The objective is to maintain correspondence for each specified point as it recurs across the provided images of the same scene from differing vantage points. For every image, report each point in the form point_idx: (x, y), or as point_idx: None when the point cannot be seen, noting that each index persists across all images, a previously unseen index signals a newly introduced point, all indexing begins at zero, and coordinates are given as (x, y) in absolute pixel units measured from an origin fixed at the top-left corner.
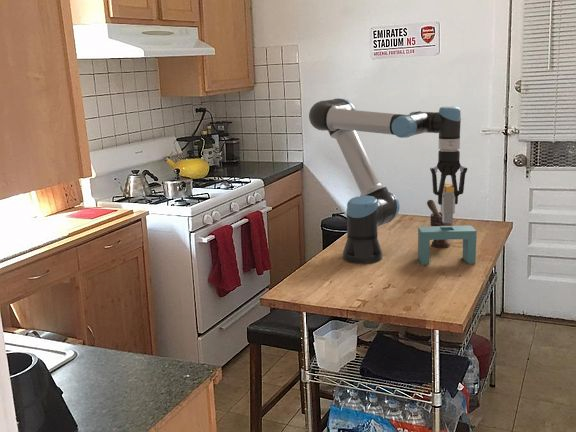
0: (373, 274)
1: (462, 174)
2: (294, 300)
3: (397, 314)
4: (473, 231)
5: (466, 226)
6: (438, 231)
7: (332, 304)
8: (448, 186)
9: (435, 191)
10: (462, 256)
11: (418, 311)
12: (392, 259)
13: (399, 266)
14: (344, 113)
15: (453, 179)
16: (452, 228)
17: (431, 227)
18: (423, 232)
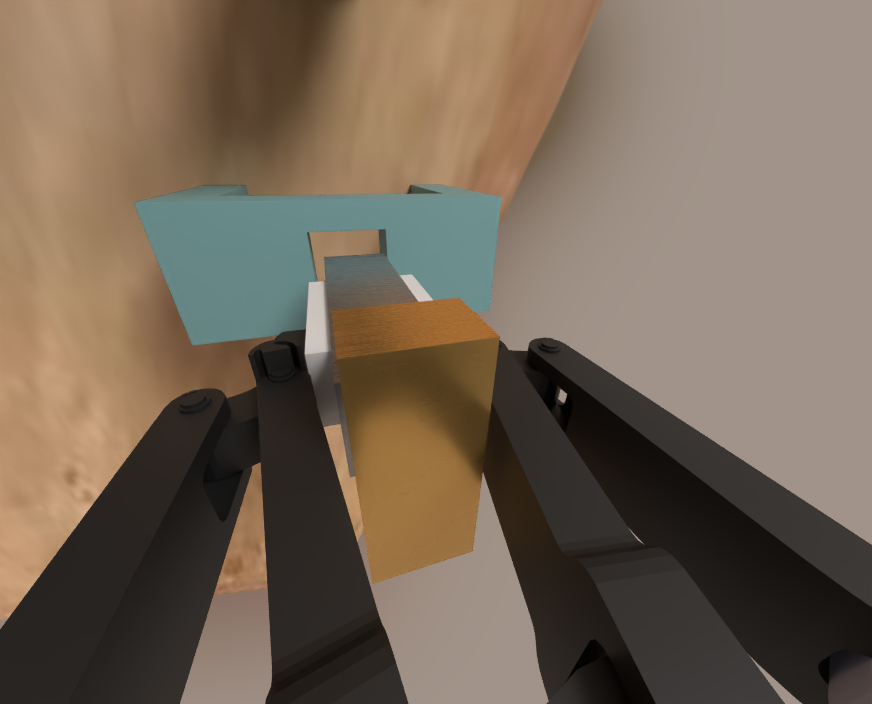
0: (40, 402)
1: (755, 649)
2: None
3: (216, 590)
4: (475, 311)
5: (469, 219)
6: (298, 325)
7: (14, 606)
8: (409, 549)
9: (213, 497)
10: (411, 186)
11: (260, 569)
12: (57, 198)
13: (134, 306)
14: None
15: (537, 602)
16: (386, 248)
17: (248, 232)
18: (204, 343)
